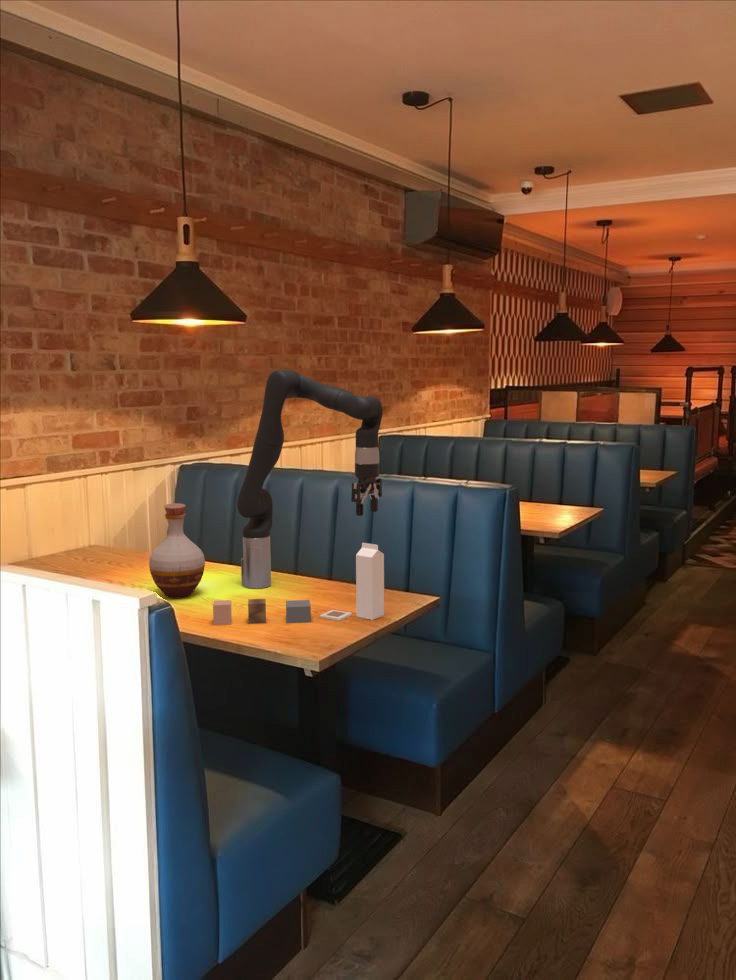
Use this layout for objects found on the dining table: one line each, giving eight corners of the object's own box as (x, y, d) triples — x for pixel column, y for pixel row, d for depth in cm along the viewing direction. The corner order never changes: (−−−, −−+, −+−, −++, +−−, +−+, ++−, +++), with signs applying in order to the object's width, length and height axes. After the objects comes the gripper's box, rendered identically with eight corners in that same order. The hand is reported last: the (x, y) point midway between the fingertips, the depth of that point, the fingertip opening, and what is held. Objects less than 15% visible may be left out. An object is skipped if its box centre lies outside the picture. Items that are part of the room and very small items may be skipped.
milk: (368, 612, 252) (368, 540, 249) (384, 615, 248) (384, 543, 246) (356, 616, 247) (355, 544, 244) (372, 620, 244) (371, 546, 241)
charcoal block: (286, 623, 241) (286, 607, 241) (286, 617, 248) (285, 600, 248) (310, 622, 242) (310, 606, 242) (309, 616, 249) (309, 599, 248)
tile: (319, 617, 247) (319, 614, 247) (332, 611, 253) (332, 609, 253) (339, 620, 243) (339, 618, 243) (351, 614, 249) (351, 612, 249)
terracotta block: (213, 625, 240) (212, 605, 239) (214, 620, 245) (214, 600, 244) (231, 624, 240) (230, 604, 240) (231, 619, 245) (231, 600, 245)
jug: (143, 591, 279) (139, 502, 274) (196, 584, 287) (193, 498, 283) (157, 605, 261) (153, 510, 257) (212, 597, 269) (209, 506, 265)
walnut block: (248, 624, 241) (248, 603, 240) (248, 619, 246) (248, 599, 245) (265, 623, 242) (265, 603, 241) (265, 618, 247) (265, 598, 246)
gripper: (368, 458, 264) (368, 509, 266) (344, 463, 252) (344, 515, 254) (389, 460, 260) (388, 511, 262) (365, 464, 248) (365, 518, 250)
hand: (367, 513), depth 258 cm, fingers open, 8 cm apart
